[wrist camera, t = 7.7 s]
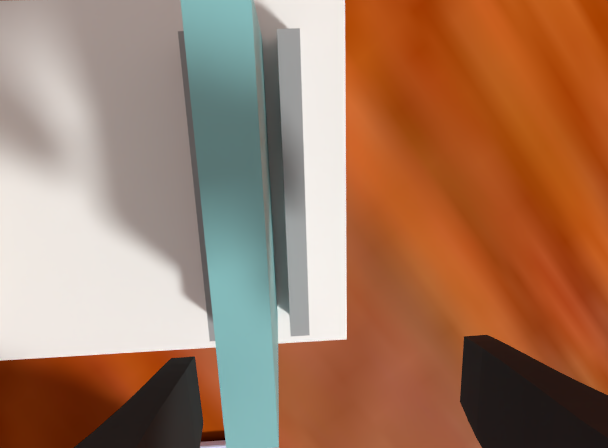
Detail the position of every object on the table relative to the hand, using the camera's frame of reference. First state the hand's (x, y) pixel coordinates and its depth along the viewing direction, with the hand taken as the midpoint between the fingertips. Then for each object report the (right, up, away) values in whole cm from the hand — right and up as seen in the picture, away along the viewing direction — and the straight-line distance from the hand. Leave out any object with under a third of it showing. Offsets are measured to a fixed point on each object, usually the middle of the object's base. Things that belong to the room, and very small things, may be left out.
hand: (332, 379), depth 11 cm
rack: (-11, +5, +8) cm, 14 cm away
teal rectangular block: (-3, +6, +7) cm, 9 cm away
